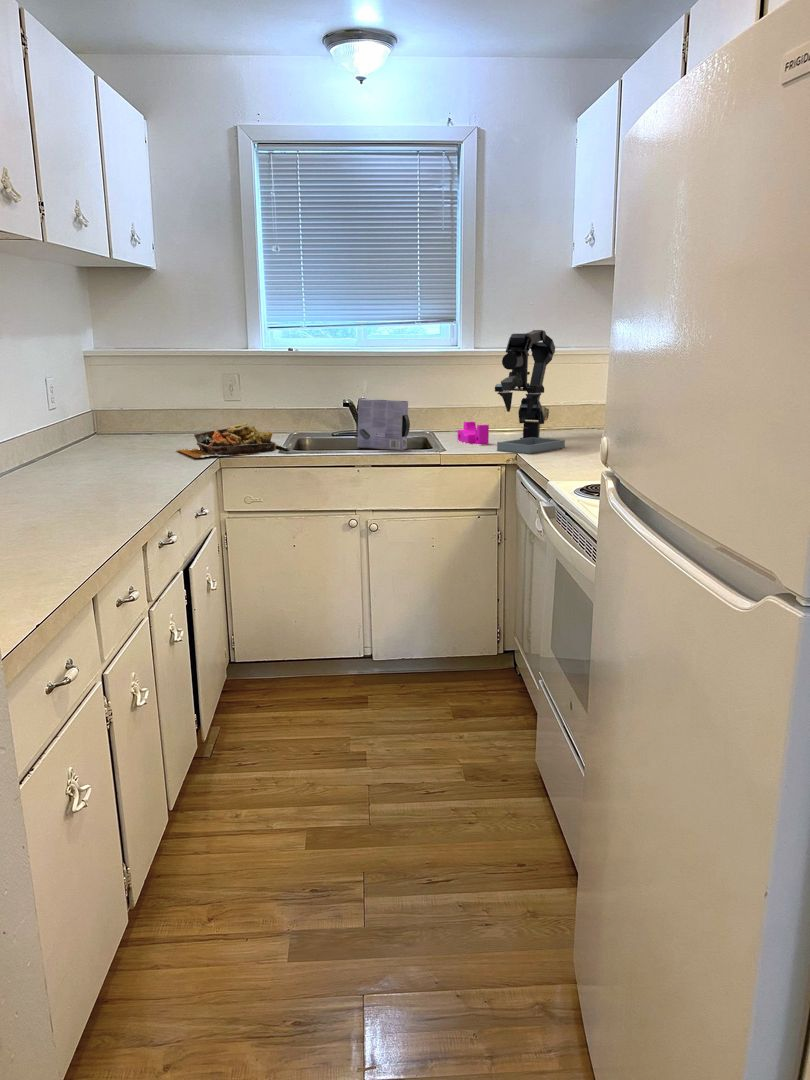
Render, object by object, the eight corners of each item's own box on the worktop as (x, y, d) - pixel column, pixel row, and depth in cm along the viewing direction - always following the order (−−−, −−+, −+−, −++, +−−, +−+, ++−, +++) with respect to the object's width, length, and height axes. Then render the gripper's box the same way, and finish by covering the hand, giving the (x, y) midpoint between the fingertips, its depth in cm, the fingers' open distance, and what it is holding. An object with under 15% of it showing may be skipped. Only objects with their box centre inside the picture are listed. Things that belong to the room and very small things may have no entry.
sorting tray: (532, 445, 296) (532, 437, 295) (564, 448, 286) (564, 440, 286) (497, 450, 282) (497, 442, 281) (529, 454, 272) (529, 445, 271)
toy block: (457, 441, 311) (457, 422, 310) (472, 440, 313) (472, 421, 312) (473, 445, 298) (473, 425, 296) (488, 445, 300) (488, 425, 298)
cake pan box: (410, 449, 288) (410, 399, 283) (404, 450, 283) (404, 400, 279) (363, 446, 296) (362, 398, 291) (356, 448, 291) (355, 399, 287)
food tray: (195, 460, 267) (193, 428, 265) (175, 452, 289) (173, 422, 286) (293, 453, 284) (292, 422, 282) (267, 445, 306) (266, 417, 303)
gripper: (485, 369, 292) (484, 412, 296) (527, 370, 279) (525, 415, 283) (504, 368, 300) (503, 410, 303) (545, 369, 287) (544, 413, 291)
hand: (518, 412), depth 295 cm, fingers open, 9 cm apart
